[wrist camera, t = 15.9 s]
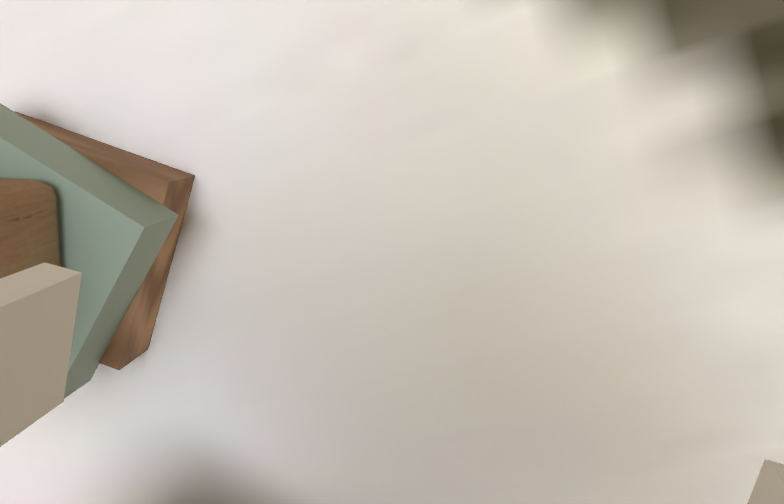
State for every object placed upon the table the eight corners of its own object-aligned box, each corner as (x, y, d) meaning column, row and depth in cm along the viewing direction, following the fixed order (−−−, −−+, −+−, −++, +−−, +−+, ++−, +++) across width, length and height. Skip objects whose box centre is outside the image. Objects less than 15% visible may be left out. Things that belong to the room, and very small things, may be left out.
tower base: (151, 346, 55) (119, 370, 50) (-16, 285, 55) (-63, 302, 51) (197, 174, 52) (168, 182, 47) (20, 111, 52) (-27, 112, 47)
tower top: (90, 380, 50) (48, 409, 46) (-79, 275, 50) (-139, 293, 45) (178, 215, 47) (144, 227, 42) (-2, 102, 47) (-57, 101, 42)
